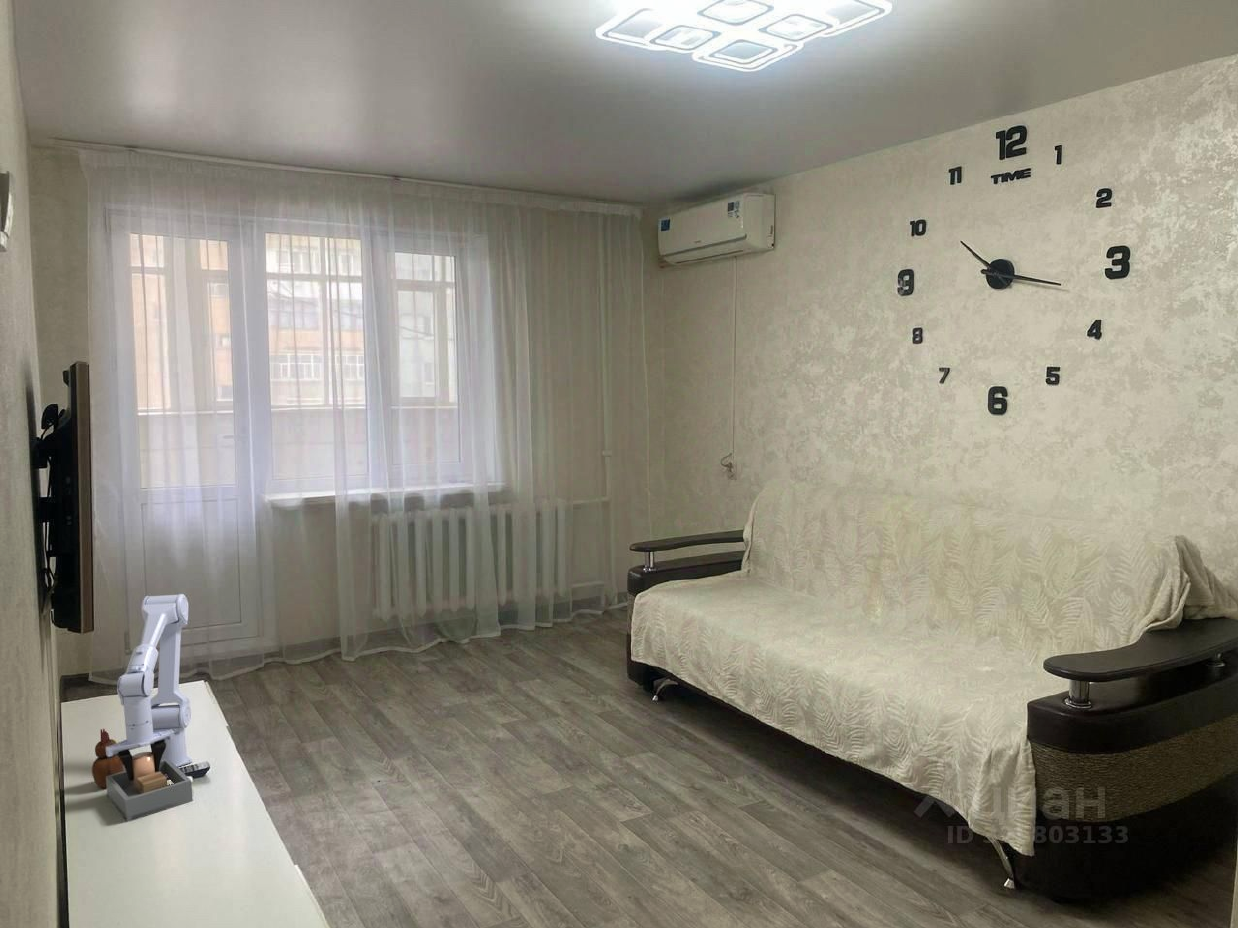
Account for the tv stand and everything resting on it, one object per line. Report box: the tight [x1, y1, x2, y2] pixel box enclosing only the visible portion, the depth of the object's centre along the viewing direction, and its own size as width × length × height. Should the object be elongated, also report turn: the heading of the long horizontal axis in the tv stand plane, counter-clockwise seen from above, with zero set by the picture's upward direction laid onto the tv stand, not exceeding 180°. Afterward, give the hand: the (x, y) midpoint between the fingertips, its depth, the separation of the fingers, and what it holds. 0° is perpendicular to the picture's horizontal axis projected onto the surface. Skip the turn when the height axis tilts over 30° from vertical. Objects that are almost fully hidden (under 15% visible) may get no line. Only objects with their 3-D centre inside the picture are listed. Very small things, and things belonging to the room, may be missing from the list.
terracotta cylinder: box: [132, 751, 155, 789], centre depth 215 cm, size 5×5×7 cm
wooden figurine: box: [91, 728, 124, 789], centre depth 221 cm, size 7×6×15 cm
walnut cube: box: [137, 772, 167, 795], centre depth 211 cm, size 5×5×5 cm
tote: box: [106, 759, 194, 823], centre depth 213 cm, size 18×14×5 cm
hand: (143, 775), depth 216 cm, fingers closed on terracotta cylinder, 5 cm apart
